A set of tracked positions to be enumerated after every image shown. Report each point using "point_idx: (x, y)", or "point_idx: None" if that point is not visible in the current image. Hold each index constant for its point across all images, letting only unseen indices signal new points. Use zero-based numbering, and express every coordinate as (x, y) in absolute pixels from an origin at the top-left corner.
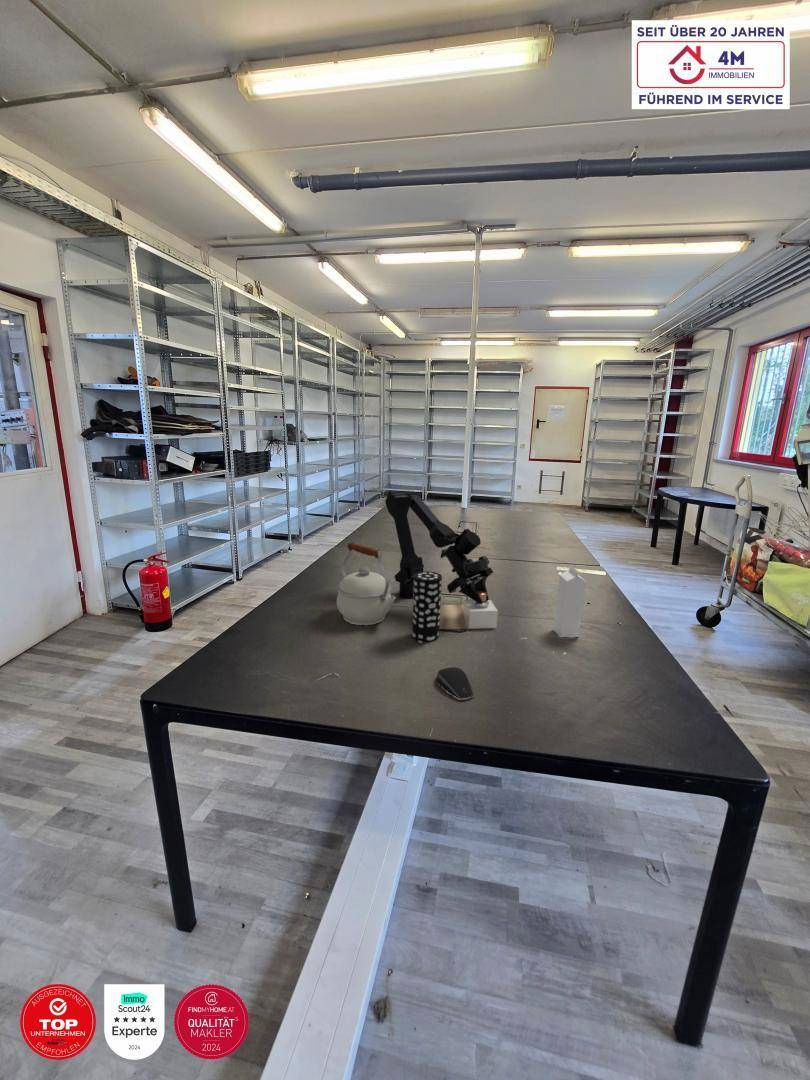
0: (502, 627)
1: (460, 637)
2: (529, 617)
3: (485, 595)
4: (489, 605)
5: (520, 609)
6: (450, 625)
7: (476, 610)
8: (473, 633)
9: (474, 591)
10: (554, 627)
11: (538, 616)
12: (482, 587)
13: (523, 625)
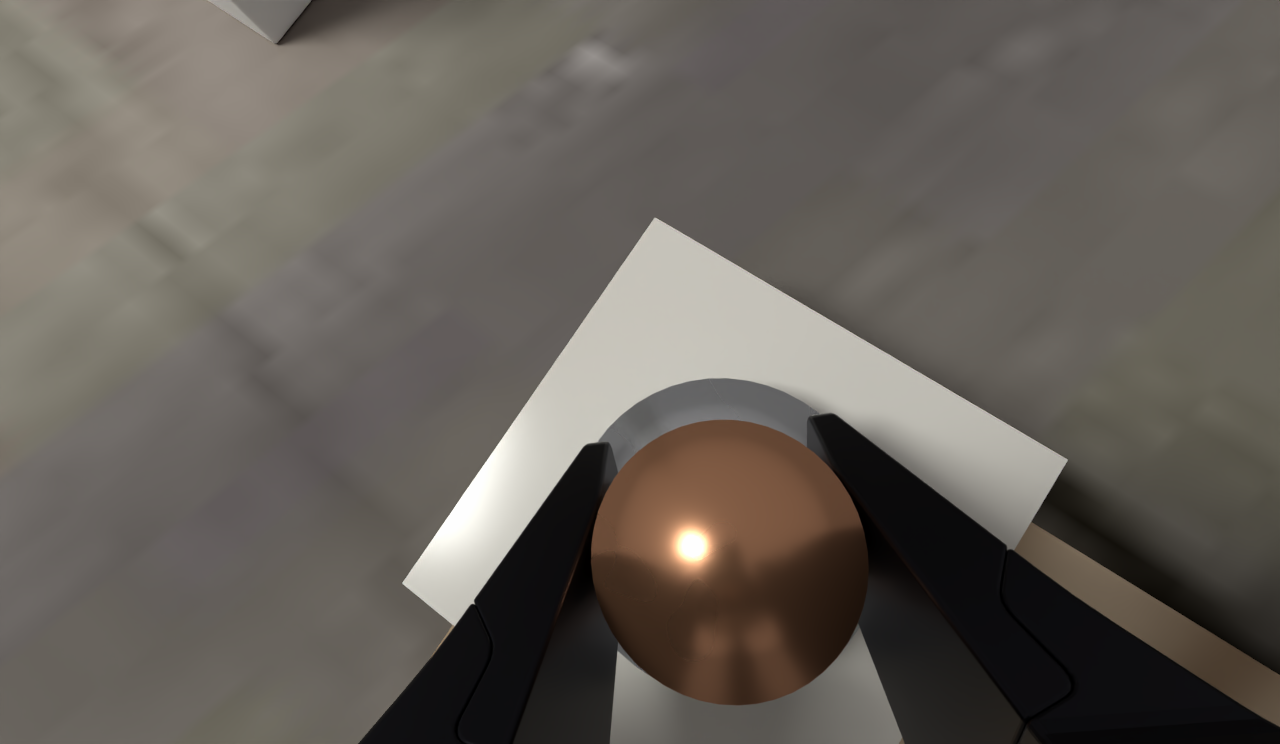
0: (585, 305)
1: (1139, 391)
2: (207, 306)
3: (710, 421)
4: (600, 431)
5: (104, 479)
6: None
7: (942, 415)
8: (942, 377)
9: (1082, 617)
10: (269, 1)
11: (131, 273)
12: (539, 716)
13: (394, 225)
